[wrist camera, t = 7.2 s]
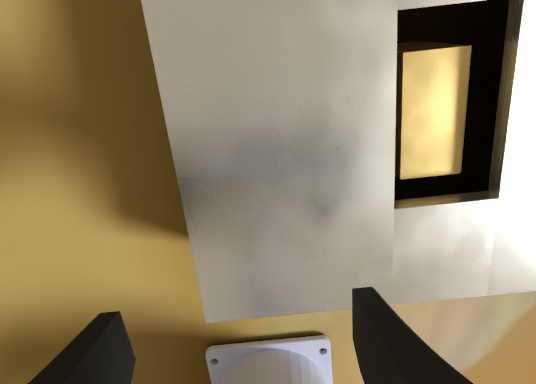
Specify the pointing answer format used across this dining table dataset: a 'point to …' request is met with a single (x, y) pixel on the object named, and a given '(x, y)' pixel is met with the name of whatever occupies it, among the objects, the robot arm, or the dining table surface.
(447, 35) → the dining table surface
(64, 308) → the dining table surface
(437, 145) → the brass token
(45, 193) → the dining table surface
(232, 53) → the cash box
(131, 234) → the dining table surface
